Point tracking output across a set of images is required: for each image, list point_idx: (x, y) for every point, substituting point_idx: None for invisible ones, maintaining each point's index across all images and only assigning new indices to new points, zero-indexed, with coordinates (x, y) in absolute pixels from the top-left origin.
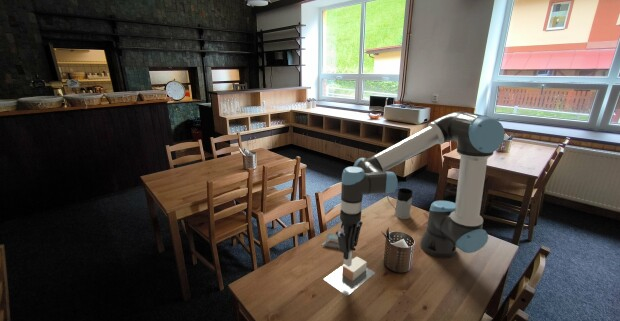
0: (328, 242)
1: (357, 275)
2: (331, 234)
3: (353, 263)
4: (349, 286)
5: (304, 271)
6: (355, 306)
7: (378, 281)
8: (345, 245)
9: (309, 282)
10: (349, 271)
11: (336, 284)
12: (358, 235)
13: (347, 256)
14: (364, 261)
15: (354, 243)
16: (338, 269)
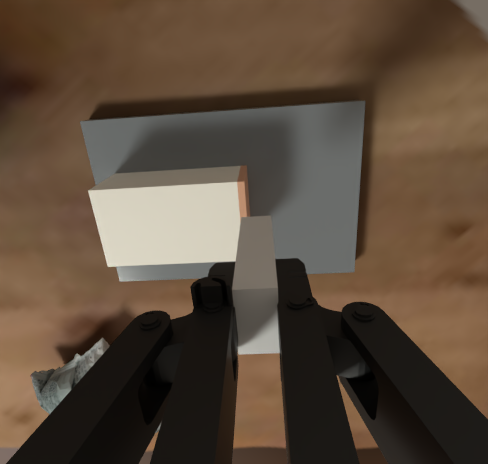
0: None
1: (197, 171)
2: None
3: (175, 236)
4: (292, 146)
5: None
6: (372, 23)
7: (107, 70)
8: (424, 405)
9: (400, 297)
10: (246, 206)
11: (334, 203)
12: (41, 443)
13: (288, 274)
14: (98, 204)
15: (161, 350)
16: None
